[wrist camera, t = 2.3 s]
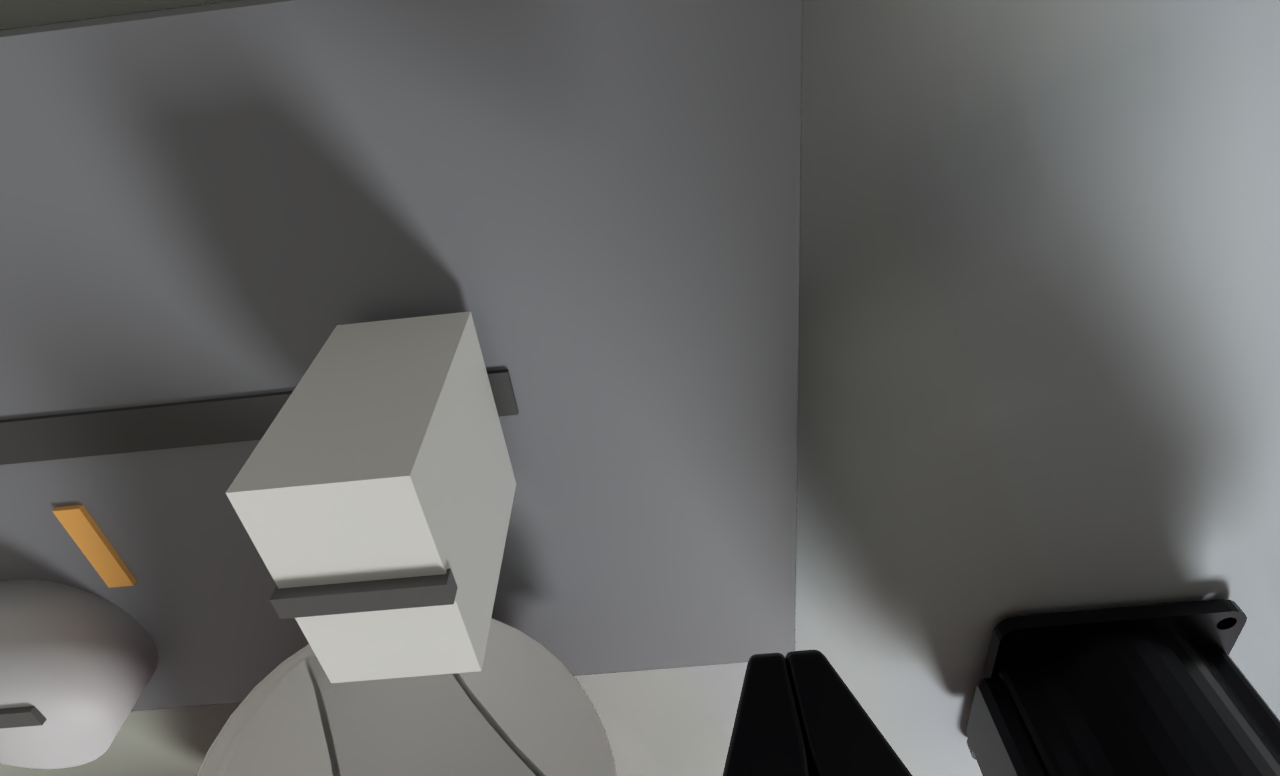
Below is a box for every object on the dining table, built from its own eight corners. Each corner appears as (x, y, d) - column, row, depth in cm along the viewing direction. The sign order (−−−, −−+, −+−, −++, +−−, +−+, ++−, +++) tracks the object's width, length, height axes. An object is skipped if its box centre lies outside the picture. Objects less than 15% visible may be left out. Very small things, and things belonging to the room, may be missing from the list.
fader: (473, 311, 13) (409, 485, 9) (518, 483, 15) (482, 682, 11) (334, 325, 13) (214, 504, 9) (399, 494, 15) (323, 694, 12)
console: (784, -69, 12) (839, -54, 9) (784, 611, 20) (811, 737, 17) (-520, 95, 13) (-882, 161, 10) (18, 674, 22) (-82, 803, 18)
